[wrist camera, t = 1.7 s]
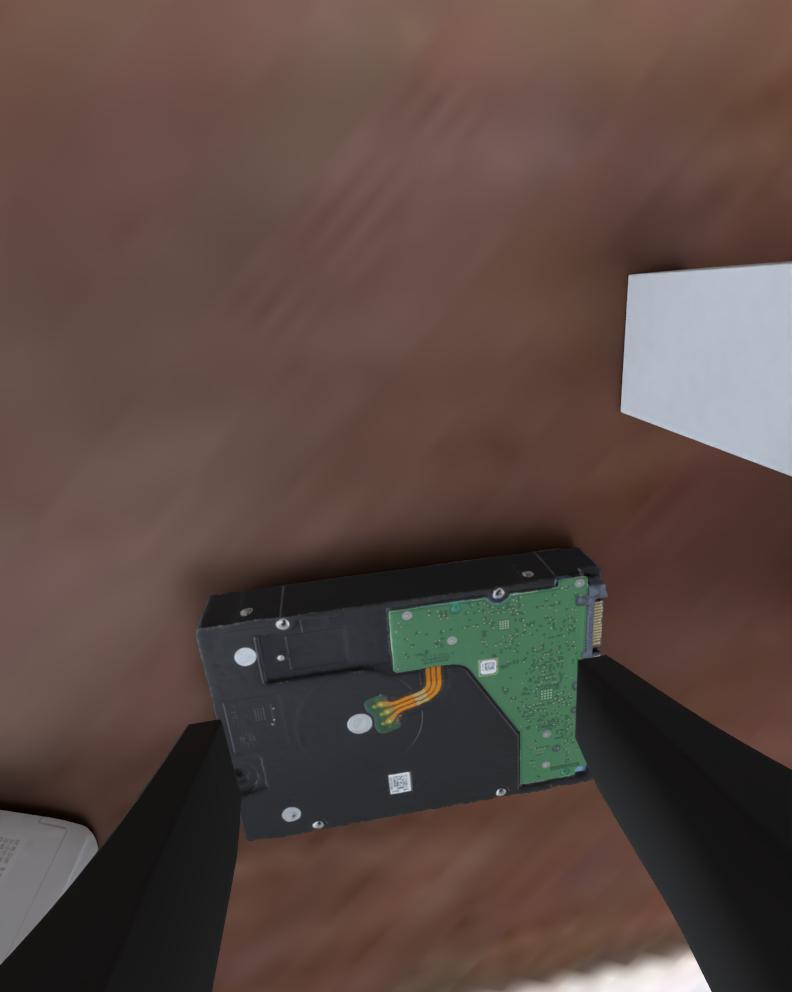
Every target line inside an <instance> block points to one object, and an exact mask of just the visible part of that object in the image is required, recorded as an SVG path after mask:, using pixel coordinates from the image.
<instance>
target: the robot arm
mask: <svg viewBox="0 0 792 992" xmlns="http://www.w3.org/2000/svg"><path fill="white" fill-rule="evenodd" d="M575 739H576V741H577V743H578V745H579V748H580V750H581V752H582V755H583V757H584V759H585V761H586V764H587V766H588V768H589V770H590V772H591V774H592V777H593V779H594V781H595V783H596V785H597V787H598V789H599V791H600V792H601V794H602V796H603V798H604V799H605V801H606V803H607V804H608V806H609V808H610V809H611V811H612V813H613V815H614V816H615V818H616V820H617V821H618V823H619V825H620V826H621V828H622V830H623V831H624V833H625V835H626V836H627V838H628V840H629V841H630V843H631V845H632V846H633V848H634V850H635V851H636V853H637V855H638V856H639V858H640V860H641V861H642V863H643V865H644V866H645V868H646V870H647V871H648V873H649V875H650V876H651V878H652V880H653V881H654V883H655V885H656V886H657V888H658V890H659V891H660V893H661V895H662V896H663V898H664V900H665V901H666V903H667V905H668V907H669V909H670V910H671V912H672V914H673V916H674V918H675V919H676V921H677V923H678V925H679V927H680V929H681V930H682V932H683V934H684V936H685V938H686V940H687V942H688V944H689V947H690V949H691V951H692V953H693V955H694V957H695V959H696V961H697V963H698V965H699V967H700V969H701V971H702V973H703V975H704V977H705V979H706V981H707V983H708V985H709V987H710V989H711V991H712V992H792V770H791V769H789V768H787V767H785V766H784V765H782V764H780V763H778V762H776V761H774V760H773V759H771V758H769V757H767V756H765V755H764V754H762V753H760V752H758V751H757V750H755V749H753V748H751V747H750V746H748V745H746V744H744V743H743V742H741V741H739V740H738V739H736V738H734V737H732V736H731V735H729V734H727V733H726V732H724V731H722V730H721V729H719V728H717V727H716V726H714V725H713V724H711V723H709V722H708V721H706V720H704V719H703V718H701V717H700V716H698V715H697V714H695V713H693V712H692V711H690V710H689V709H687V708H686V707H684V706H682V705H681V704H679V703H678V702H676V701H675V700H673V699H672V698H670V697H669V696H667V695H666V694H664V693H663V692H661V691H660V690H658V689H657V688H655V687H654V686H652V685H651V684H649V683H648V682H646V681H645V680H643V679H642V678H640V677H639V676H637V675H636V674H634V673H633V672H631V671H630V670H628V669H627V668H625V667H624V666H622V665H621V664H619V663H618V662H616V661H615V660H613V659H611V658H610V657H608V656H607V655H604V656H598V657H592V658H586V659H580V660H578V665H577V694H576V723H575ZM240 811H241V794H240V790H239V786H238V783H237V779H236V775H235V771H234V767H233V763H232V759H231V756H230V752H229V748H228V744H227V740H226V736H225V732H224V729H223V725H222V721H221V719H220V720H214V721H207V722H201V723H195V724H189V725H188V726H187V728H186V729H185V730H184V731H183V733H182V734H181V736H180V737H179V739H178V740H177V742H176V743H175V744H174V746H173V747H172V749H171V750H170V752H169V753H168V755H167V756H166V758H165V759H164V761H163V762H162V764H161V765H160V766H159V768H158V769H157V771H156V772H155V774H154V775H153V777H152V778H151V779H150V781H149V782H148V784H147V785H146V787H145V788H144V789H143V791H142V792H141V794H140V795H139V796H138V798H137V799H136V800H135V802H134V803H133V805H132V806H131V807H130V809H129V810H128V811H127V813H126V814H125V816H124V817H123V818H122V820H121V821H120V822H119V824H118V825H117V827H116V828H115V829H114V831H113V832H112V833H111V835H110V836H109V837H108V838H107V840H106V841H105V842H104V844H103V845H102V846H101V847H100V849H99V850H98V851H97V852H96V854H95V855H94V856H93V857H92V859H91V860H90V861H89V863H88V864H87V865H86V866H85V868H84V869H83V870H82V871H81V873H80V874H79V875H78V876H77V878H76V879H75V880H74V881H73V883H72V884H71V885H70V886H69V888H68V889H67V890H66V891H65V892H64V894H63V895H62V896H61V897H60V898H59V899H58V901H57V902H56V903H55V904H54V905H53V907H52V908H51V909H50V910H49V911H48V912H47V914H46V915H45V916H44V917H43V918H42V919H41V920H40V922H39V923H38V924H37V925H36V926H35V927H34V928H33V929H32V931H31V932H30V933H29V934H28V935H27V936H26V937H25V938H24V940H23V941H22V942H21V943H20V944H19V945H18V946H17V947H16V948H15V950H14V951H13V952H12V953H11V954H10V955H9V956H8V957H7V958H6V959H5V960H4V961H3V962H2V963H1V964H0V992H212V988H213V983H214V977H215V972H216V967H217V961H218V956H219V951H220V945H221V940H222V934H223V929H224V924H225V919H226V913H227V908H228V902H229V897H230V891H231V886H232V881H233V875H234V869H235V864H236V858H237V850H238V838H239V826H240Z"/></svg>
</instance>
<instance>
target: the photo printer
mask: <svg viewBox="0 0 792 992" xmlns="http://www.w3.org/2000/svg"><path fill="white" fill-rule="evenodd" d="M97 851H98V846H97V842H96V839H95V837H94V835H93V833H92V832H91V831H90V830H89V829H88V828H87V827H86V826H83V825H80V824H76V823H73V822H69V821H65V820H60V819H55V818H50V817H43V816H37V815H31V814H24V813H17V812H11V811H4V810H0V964H1V963H2V962H3V961H4V960H5V959H6V958H7V957H8V956H9V955H10V954H11V953H12V952H13V951H14V950H15V948H16V947H17V946H18V945H19V944H20V943H21V942H22V941H23V940H24V938H25V937H26V936H27V935H28V934H29V933H30V932H31V931H32V929H33V928H34V927H35V926H36V925H37V924H38V923H39V922H40V920H41V919H42V918H43V917H44V916H45V915H46V914H47V912H48V911H49V910H50V909H51V908H52V907H53V905H54V904H55V903H56V902H57V901H58V899H59V898H60V897H61V896H62V895H63V894H64V892H65V891H66V890H67V889H68V888H69V886H70V885H71V884H72V883H73V881H74V880H75V879H76V878H77V876H78V875H79V874H80V873H81V871H82V870H83V869H84V868H85V866H86V865H87V864H88V863H89V861H90V860H91V859H92V857H93V856H94V855H95V854H96V852H97Z"/></svg>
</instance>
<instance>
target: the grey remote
mask: <svg viewBox="0 0 792 992" xmlns="http://www.w3.org/2000/svg"><path fill="white" fill-rule="evenodd" d="M621 412H622V413H625V414H627V415H630V416H633V417H635V418H638V419H641V420H643V421H646V422H649V423H651V424H654V425H657V426H659V427H662V428H665V429H667V430H670V431H673V432H675V433H678V434H680V435H683V436H686V437H688V438H691V439H694V440H696V441H699V442H702V443H704V444H707V445H710V446H712V447H715V448H718V449H720V450H723V451H726V452H728V453H731V454H734V455H736V456H739V457H742V458H744V459H747V460H750V461H752V462H755V463H758V464H760V465H763V466H766V467H768V468H771V469H773V470H776V471H779V472H781V473H784V474H787V475H789V476H792V261H785V262H773V263H760V264H747V265H734V266H721V267H708V268H695V269H683V270H673V271H662V272H652V273H641V274H631V275H629V277H628V294H627V311H626V328H625V345H624V362H623V379H622V396H621Z"/></svg>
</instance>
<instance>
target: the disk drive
mask: <svg viewBox="0 0 792 992" xmlns="http://www.w3.org/2000/svg"><path fill="white" fill-rule="evenodd" d="M600 577H601V568H600V566H599V565H598V564H597V563H596V562H595V561H594V560H593V559H591V558H590V557H589V556H588V555H587V554H586V553H585V552H584V551H582V550H581V549H580V548H576V547H574V548H571V549H561V548H556V549H548V550H541V551H533V552H527V553H520V554H512V555H504V556H497V557H488V558H480V559H473V560H465V561H456V562H450V563H444V564H436V565H430V566H424V567H416V568H407V569H398V570H392V571H384V572H376V573H370V574H363V575H355V576H347V577H339V578H331V579H325V580H318V581H310V582H303V583H295V584H286V585H280V586H273V587H265V588H260V589H253V590H244V591H241V592H230V593H227V594H223V595H221V596H220V595H213V596H210V597H209V598H208V599H207V603H206V605H205V608H204V610H203V613H202V615H201V618H200V621H199V623H198V627H197V629H196V639H197V644H198V648H199V651H200V656H201V659H202V663H203V665H204V671H205V676H206V679H207V680H208V686H209V690H210V694H211V698H212V704H213V708H214V712H215V715H216V720H220V719H221V721H222V725H223V729H224V732H225V736H226V740H227V744H228V748H229V752H230V756H231V759H232V763H233V767H234V770H235V775H236V779H237V783H238V786H239V790H240V794H241V811H240V819H241V823H242V826H243V831H244V835H245V839H246V840H247V841H253V840H257V839H265V838H268V839H270V838H278V837H285V836H289V835H295V834H301V833H307V832H311V831H313V830H315V829H316V828H319V829H325V828H331V827H337V826H344V825H348V824H351V823H356V822H361V821H370V820H375V819H380V818H385V817H392V816H397V815H400V814H407V813H412V812H417V811H423V810H427V809H437V808H441V807H446V806H452V805H455V804H466V803H469V802H476V801H479V800H482V801H483V800H489V799H493V798H494V797H497V796H508V795H513V794H523V793H530V792H537V791H541V790H546V789H551V788H552V787H556V786H558V785H561V786H563V785H571V784H576V783H580V782H582V781H584V782H586V781H589V780H593V777H592V774H591V772H590V770H589V768H588V766H587V764H586V761H585V759H584V757H583V755H582V752H581V750H580V748H579V745H578V743H577V741H576V739H575V723H576V694H577V665H578V660H580V659H586V658H592V657H598V656H600V654H601V652H600V651H599V650H597V647H600V646H601V645H602V642H601V636H602V617H603V600H602V599H600V598H603V597H605V598H606V597H607V596H608V595H607V591H606V590H605V589H606V584H605V583H604V582H603V581H602V580H601V579H600Z"/></svg>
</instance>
